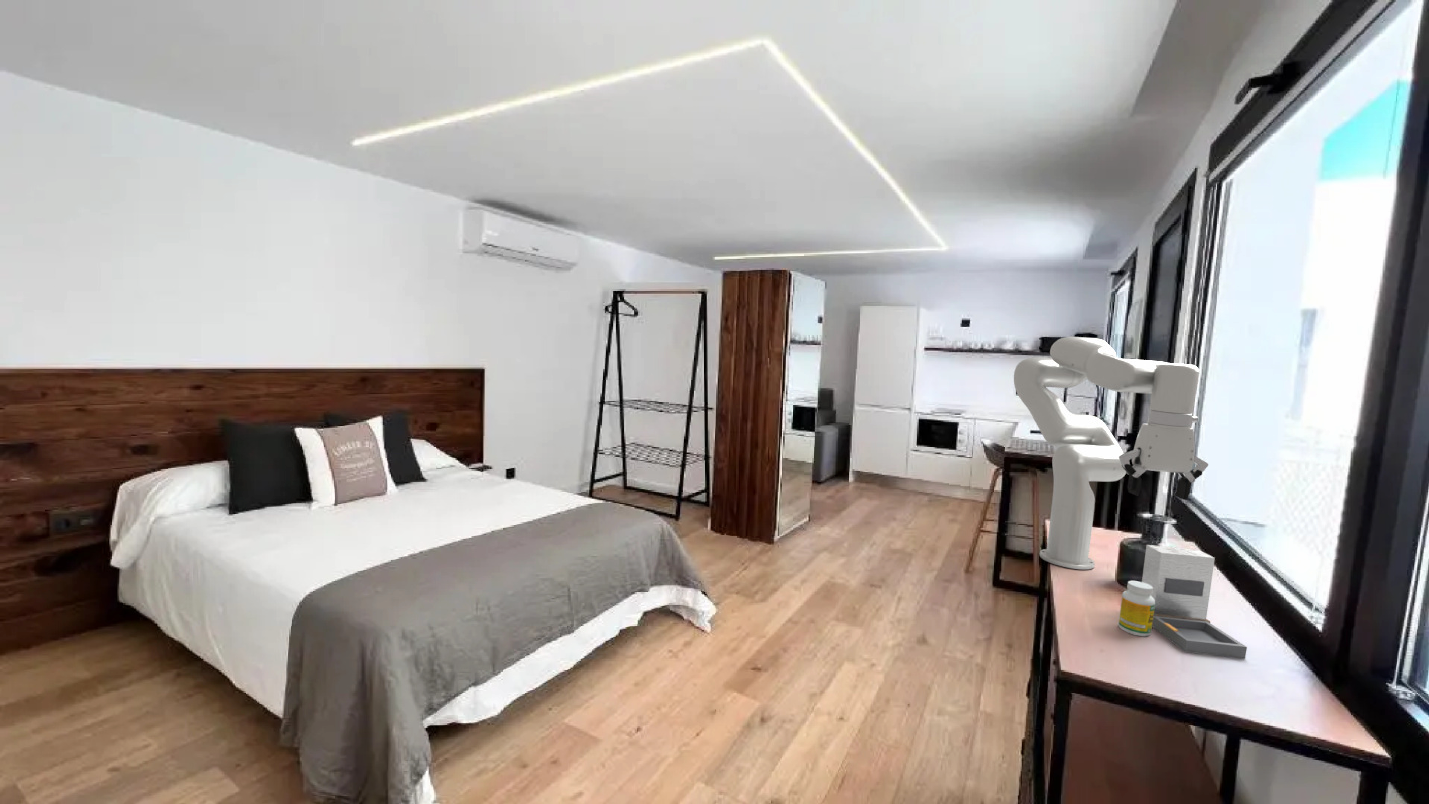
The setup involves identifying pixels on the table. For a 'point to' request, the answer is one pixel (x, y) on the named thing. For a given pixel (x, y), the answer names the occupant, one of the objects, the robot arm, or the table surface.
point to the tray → (1198, 637)
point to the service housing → (1179, 581)
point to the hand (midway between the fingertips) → (1157, 496)
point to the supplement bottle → (1137, 609)
